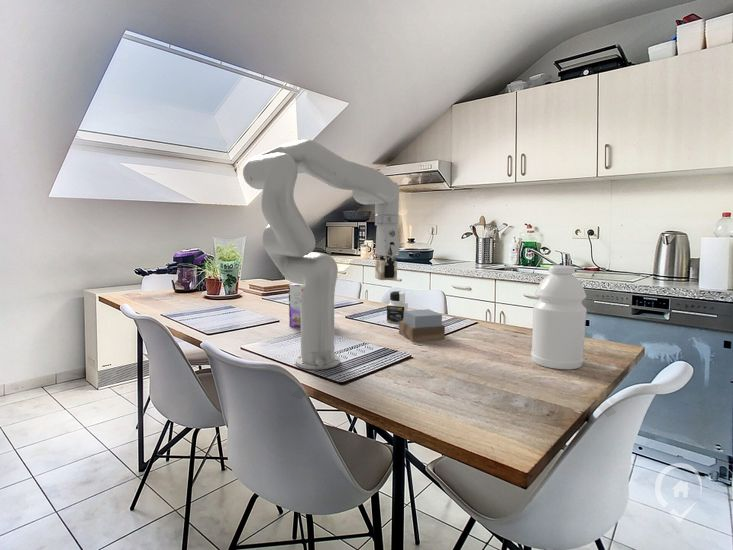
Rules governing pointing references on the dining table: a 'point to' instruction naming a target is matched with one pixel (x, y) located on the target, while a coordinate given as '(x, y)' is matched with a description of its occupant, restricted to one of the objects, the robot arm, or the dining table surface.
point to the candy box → (295, 304)
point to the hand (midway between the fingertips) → (385, 276)
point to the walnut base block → (421, 332)
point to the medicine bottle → (396, 307)
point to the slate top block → (422, 318)
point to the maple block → (380, 270)
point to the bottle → (559, 320)
